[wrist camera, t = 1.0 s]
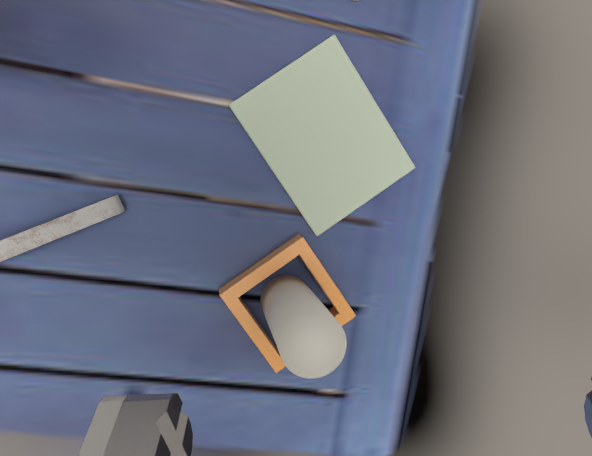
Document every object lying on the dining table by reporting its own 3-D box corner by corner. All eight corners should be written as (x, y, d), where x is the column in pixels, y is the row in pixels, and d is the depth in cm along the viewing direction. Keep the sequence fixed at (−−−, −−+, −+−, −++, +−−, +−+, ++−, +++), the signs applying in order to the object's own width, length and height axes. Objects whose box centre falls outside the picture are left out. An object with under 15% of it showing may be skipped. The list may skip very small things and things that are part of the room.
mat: (228, 105, 50) (228, 104, 49) (333, 35, 50) (334, 34, 50) (315, 236, 52) (316, 236, 52) (413, 167, 53) (415, 167, 53)
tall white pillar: (250, 293, 52) (266, 339, 38) (292, 264, 52) (322, 298, 38) (279, 333, 53) (304, 391, 39) (319, 304, 53) (359, 351, 39)
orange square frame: (218, 289, 51) (219, 295, 49) (298, 233, 52) (302, 236, 50) (273, 363, 53) (276, 373, 51) (349, 309, 54) (356, 315, 51)
